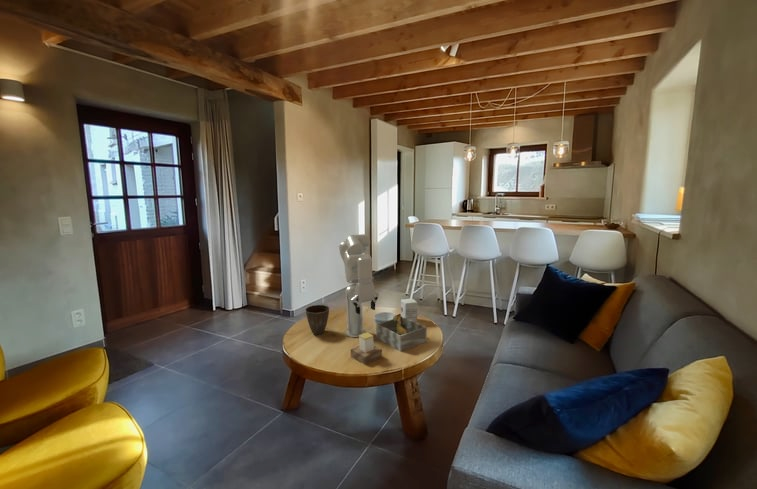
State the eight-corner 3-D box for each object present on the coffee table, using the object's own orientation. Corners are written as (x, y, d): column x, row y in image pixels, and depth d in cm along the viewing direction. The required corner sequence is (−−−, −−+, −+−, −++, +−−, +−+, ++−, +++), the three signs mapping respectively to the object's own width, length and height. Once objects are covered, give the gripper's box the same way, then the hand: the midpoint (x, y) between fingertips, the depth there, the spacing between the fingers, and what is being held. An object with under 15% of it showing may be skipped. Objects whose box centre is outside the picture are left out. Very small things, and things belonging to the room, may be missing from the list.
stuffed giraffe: (397, 330, 219) (397, 307, 216) (420, 339, 208) (421, 314, 205) (381, 340, 207) (381, 315, 204) (405, 349, 196) (405, 324, 193)
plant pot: (332, 328, 226) (331, 305, 224) (327, 337, 212) (326, 313, 209) (310, 327, 228) (309, 304, 225) (303, 337, 213) (302, 312, 210)
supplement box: (400, 319, 239) (400, 299, 237) (412, 318, 242) (412, 297, 239) (405, 324, 230) (405, 303, 228) (417, 322, 233) (417, 301, 231)
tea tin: (359, 348, 186) (358, 335, 185) (367, 345, 190) (367, 332, 188) (365, 352, 182) (364, 338, 180) (373, 349, 185) (373, 335, 184)
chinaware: (397, 331, 219) (396, 320, 218) (373, 331, 219) (373, 320, 218) (396, 322, 234) (396, 312, 233) (374, 322, 234) (374, 312, 233)
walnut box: (350, 358, 187) (350, 349, 186) (367, 350, 195) (367, 342, 194) (365, 365, 178) (365, 356, 177) (381, 357, 186) (381, 349, 185)
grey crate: (376, 337, 210) (376, 324, 209) (402, 329, 222) (402, 316, 221) (400, 351, 192) (400, 336, 191) (426, 341, 204) (426, 327, 203)
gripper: (374, 276, 188) (374, 306, 191) (347, 281, 178) (348, 313, 180) (382, 279, 182) (382, 309, 185) (354, 284, 172) (355, 317, 174)
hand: (365, 311), depth 182 cm, fingers open, 9 cm apart
